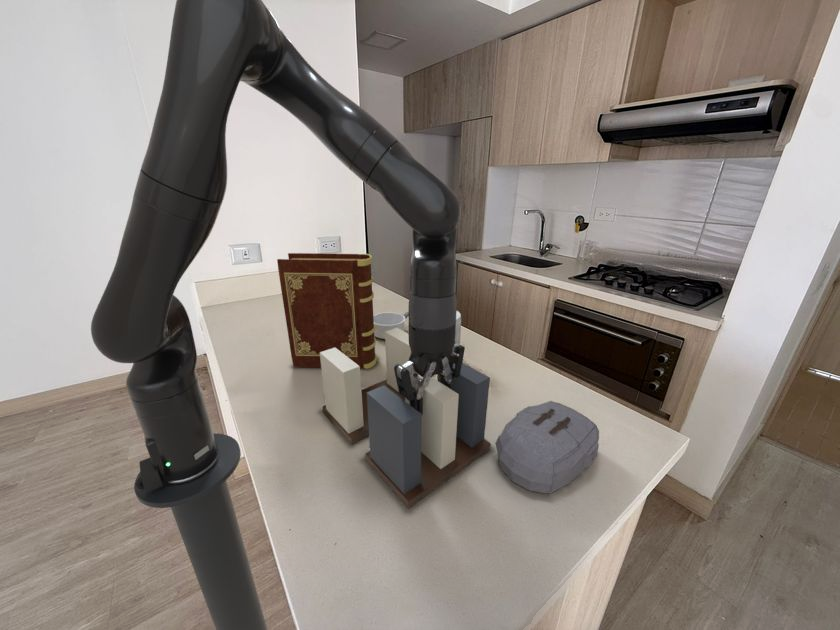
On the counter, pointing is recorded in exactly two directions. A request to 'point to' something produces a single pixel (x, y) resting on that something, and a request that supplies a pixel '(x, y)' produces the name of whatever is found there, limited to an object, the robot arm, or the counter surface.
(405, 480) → the grey book left
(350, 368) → the cream book left
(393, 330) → the cream book right
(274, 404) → the counter surface
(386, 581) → the counter surface
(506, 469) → the grey rounded bag
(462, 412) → the grey book right
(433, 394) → the cream book
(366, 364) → the decorative book
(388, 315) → the saucepan
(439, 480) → the book rack
